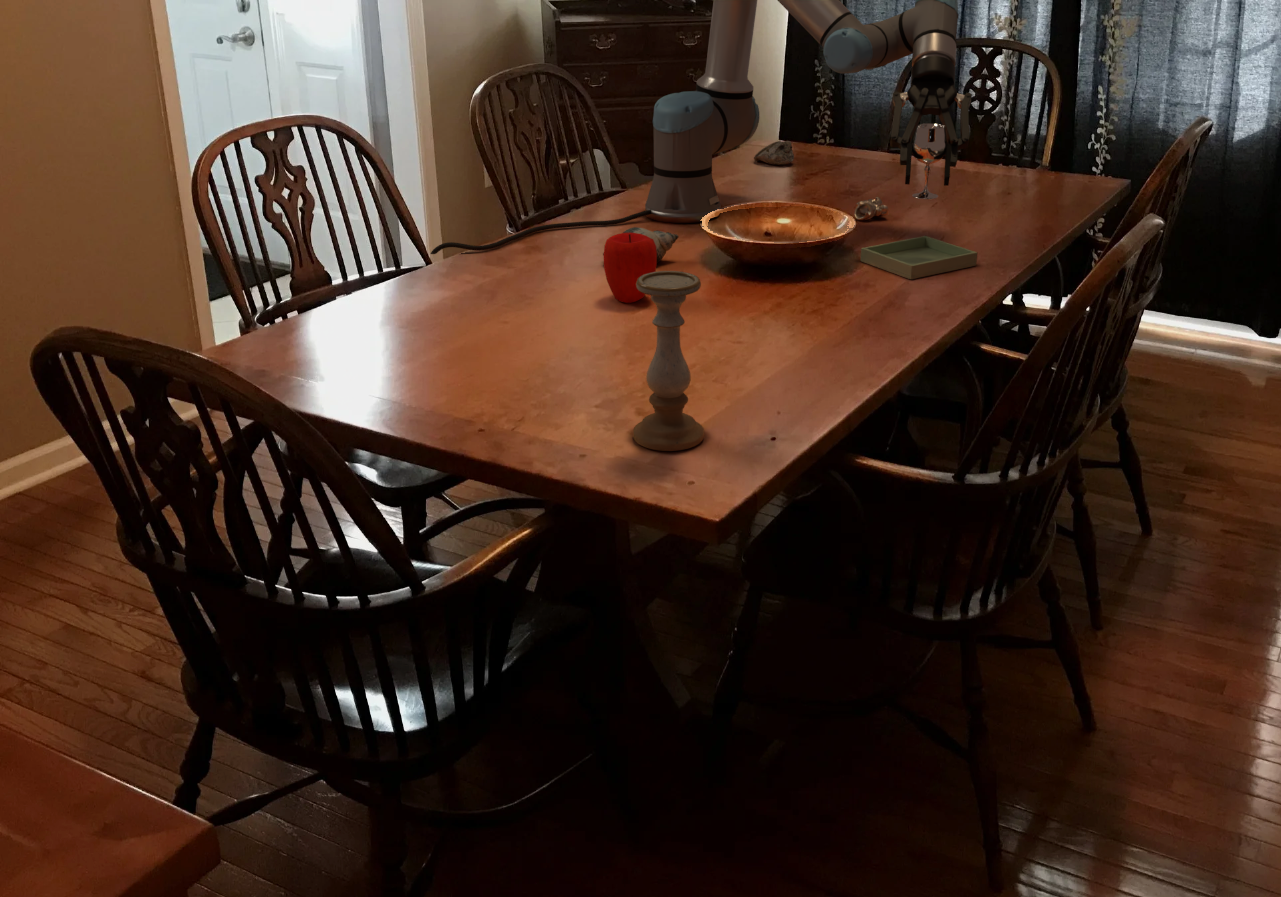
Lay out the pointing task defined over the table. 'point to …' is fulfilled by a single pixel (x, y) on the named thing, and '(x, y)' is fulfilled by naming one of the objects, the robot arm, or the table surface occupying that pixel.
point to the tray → (918, 257)
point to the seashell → (656, 239)
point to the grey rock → (776, 153)
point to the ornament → (870, 209)
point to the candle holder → (668, 366)
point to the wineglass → (928, 151)
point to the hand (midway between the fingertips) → (927, 180)
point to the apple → (628, 264)
